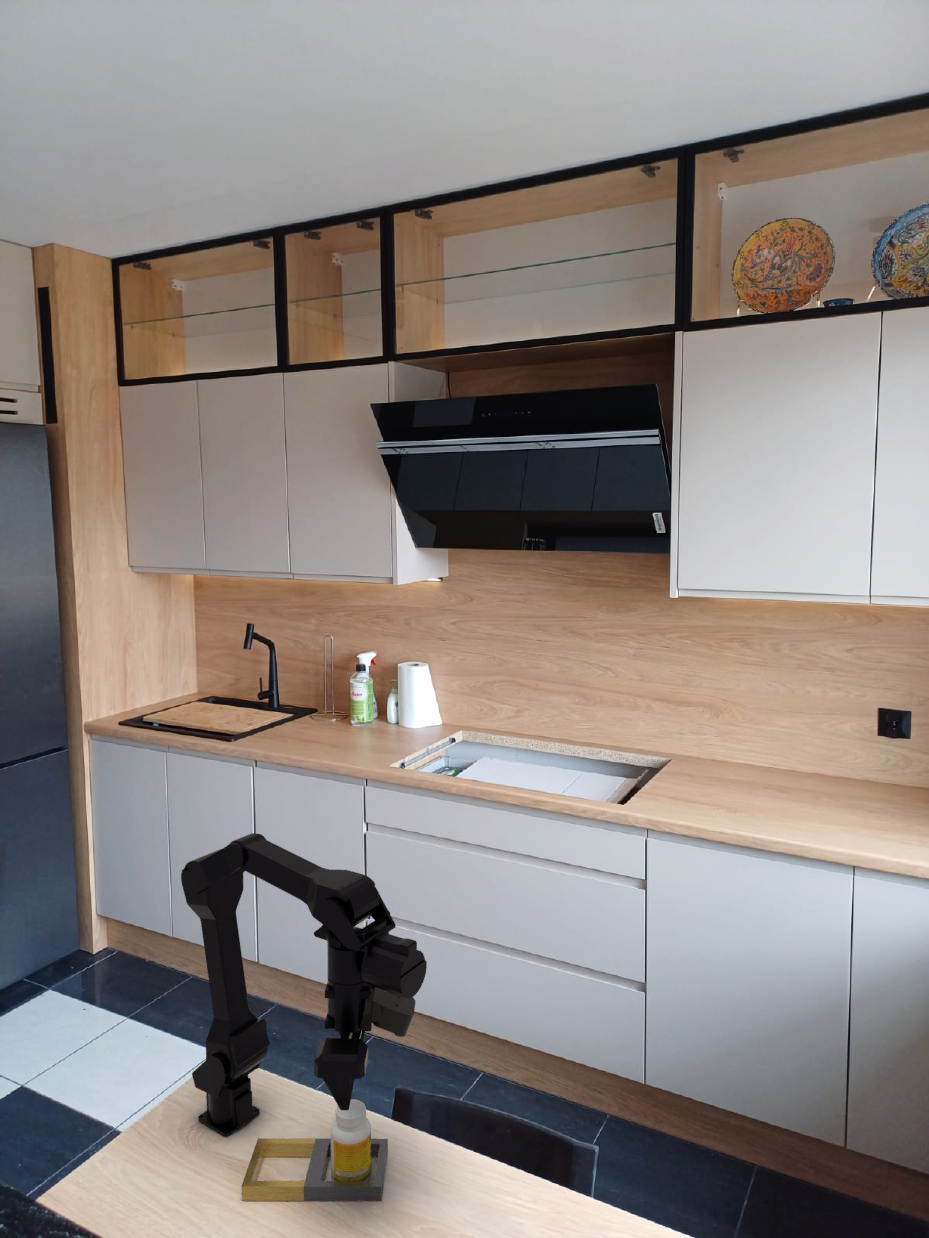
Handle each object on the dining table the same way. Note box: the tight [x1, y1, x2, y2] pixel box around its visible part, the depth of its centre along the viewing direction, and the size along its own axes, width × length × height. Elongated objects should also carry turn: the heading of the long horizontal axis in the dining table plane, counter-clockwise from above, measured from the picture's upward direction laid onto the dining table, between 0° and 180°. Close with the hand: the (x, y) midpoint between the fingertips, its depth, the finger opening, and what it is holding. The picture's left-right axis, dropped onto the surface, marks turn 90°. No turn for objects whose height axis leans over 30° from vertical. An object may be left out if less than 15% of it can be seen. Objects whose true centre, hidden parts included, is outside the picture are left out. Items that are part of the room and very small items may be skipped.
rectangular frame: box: [240, 1137, 389, 1202], centre depth 117 cm, size 18×9×2 cm, turn 90°
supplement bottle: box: [330, 1098, 372, 1181], centre depth 117 cm, size 5×5×10 cm
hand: (349, 1086), depth 116 cm, fingers open, 9 cm apart
